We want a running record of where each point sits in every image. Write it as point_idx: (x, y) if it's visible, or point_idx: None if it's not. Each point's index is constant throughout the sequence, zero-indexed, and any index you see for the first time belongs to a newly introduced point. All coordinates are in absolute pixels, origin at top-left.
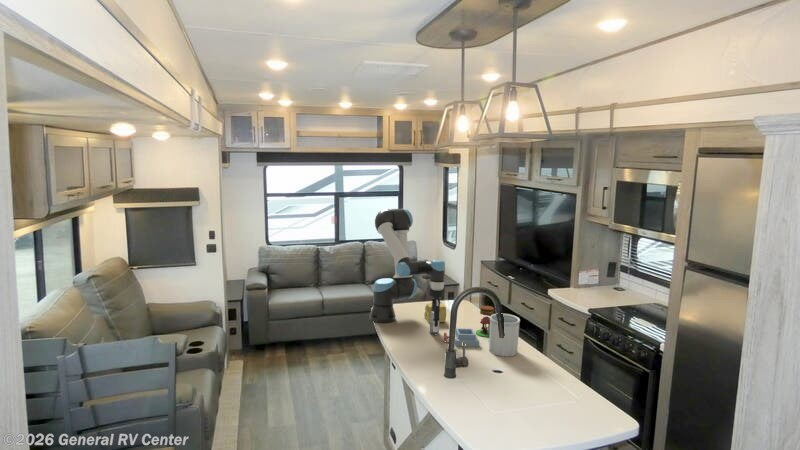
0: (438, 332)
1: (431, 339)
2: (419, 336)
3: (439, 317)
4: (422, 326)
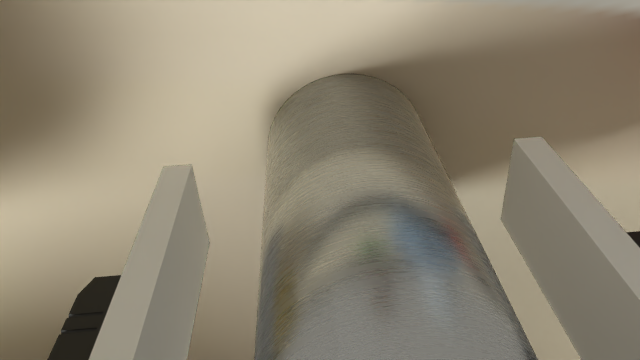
0: (389, 95)
1: (604, 187)
2: None
3: (472, 324)
4: (65, 294)
